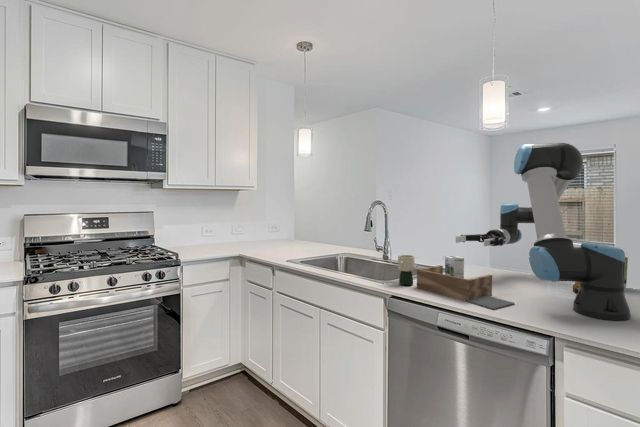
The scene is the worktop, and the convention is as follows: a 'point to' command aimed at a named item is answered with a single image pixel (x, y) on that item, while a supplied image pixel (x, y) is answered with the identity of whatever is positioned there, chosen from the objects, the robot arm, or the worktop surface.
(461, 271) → the syrup box
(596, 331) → the worktop surface
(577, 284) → the bread roll
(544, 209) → the robot arm
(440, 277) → the wooden crate
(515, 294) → the worktop surface
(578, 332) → the worktop surface
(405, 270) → the character mug
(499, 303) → the mat
